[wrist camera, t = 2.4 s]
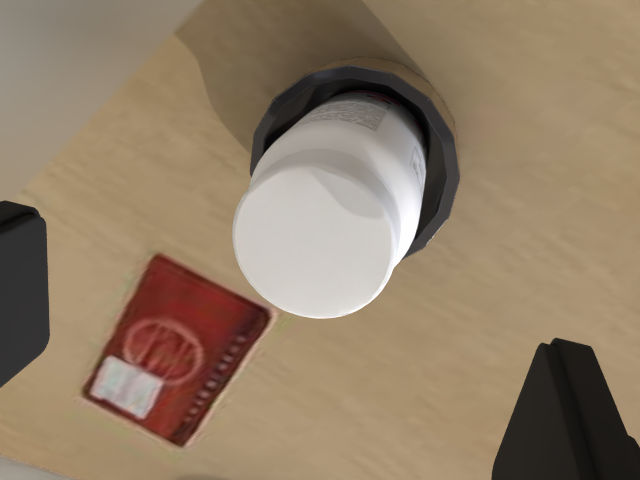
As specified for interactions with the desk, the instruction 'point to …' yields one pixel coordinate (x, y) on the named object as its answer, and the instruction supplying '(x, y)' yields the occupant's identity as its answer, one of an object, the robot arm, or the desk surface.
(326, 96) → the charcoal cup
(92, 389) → the desk surface
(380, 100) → the pill bottle
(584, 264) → the desk surface
